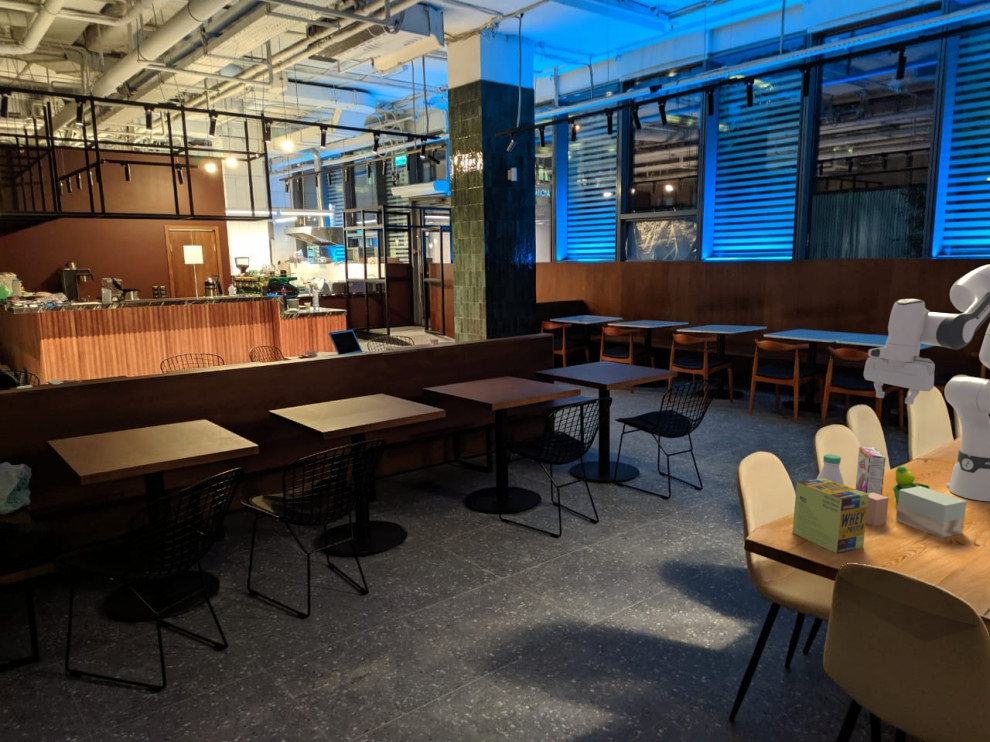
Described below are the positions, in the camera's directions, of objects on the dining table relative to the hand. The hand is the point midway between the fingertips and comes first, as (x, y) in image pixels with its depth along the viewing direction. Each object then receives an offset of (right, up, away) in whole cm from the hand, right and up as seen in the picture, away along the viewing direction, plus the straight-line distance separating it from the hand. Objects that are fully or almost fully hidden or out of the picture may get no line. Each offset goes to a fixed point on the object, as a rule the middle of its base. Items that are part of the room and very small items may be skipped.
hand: (894, 400), depth 204 cm
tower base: (+10, -37, -1) cm, 39 cm away
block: (-5, -36, +3) cm, 37 cm away
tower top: (+10, -33, -1) cm, 34 cm away
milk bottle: (-18, -36, +4) cm, 41 cm away
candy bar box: (+4, -34, +21) cm, 40 cm away
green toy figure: (+16, -34, +20) cm, 43 cm away
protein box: (-25, -39, -11) cm, 47 cm away
